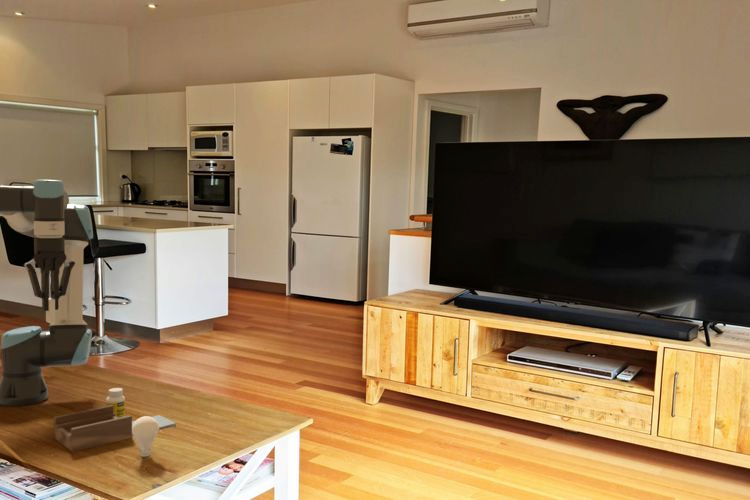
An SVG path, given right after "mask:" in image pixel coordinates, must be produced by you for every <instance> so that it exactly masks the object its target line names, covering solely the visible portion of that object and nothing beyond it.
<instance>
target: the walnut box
mask: <svg viewBox="0 0 750 500" xmlns="http://www.w3.org/2000/svg"><path fill="white" fill-rule="evenodd" d="M132 421H133V416H132V415H131V414H129V415H125V417H120V418H118V417H116V416H115V413H113V406H112V405H109V406H106V405H105V406H101V407H96V408H92V409H91V408H90V409H86V410H80V411H75V412H71V413H67V414H62V415H57V416H54V417H53V423H54V424H53V428H54V429H53V438H54V440H55V441H58V443H60V444H62V446H64V447H65V448H67V449H68V450H69V451H71V452H72V453H75V452H79V451H84V450H87V449H92V448H96V447H100V446H103V445H108V444H112V443H116V442H119V441H124V440H128V439H132V438H133V436H132Z"/></svg>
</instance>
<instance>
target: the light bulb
mask: <svg viewBox="0 0 750 500" xmlns="http://www.w3.org/2000/svg"><path fill="white" fill-rule="evenodd" d="M152 417H153V416H150V415H144V416H141V417H139V418H137V419H136V420H134V421H135V422H134V424H133V427H132V434H133V436H132V437H134V440H135V441H136V443H137V446H138V449H139V457H141V458H143V459H148V458H149V457H151V456H152V448H153V445H154V441H155V439H156V438H157V436H158V434H159V430H160V429H159V425H158V422H157V421H156V420H155V419H154V418H152Z"/></svg>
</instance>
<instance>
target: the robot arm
mask: <svg viewBox="0 0 750 500" xmlns="http://www.w3.org/2000/svg"><path fill="white" fill-rule="evenodd" d="M69 198H70V197H69V195H68V193H67V192H66V191H65V183H64V182H63V180H60V179H58V180H57V179H36V180H34V182H33V186H29V185H27V186H25V185H24V186H18V185H17V186H16V185H0V215H1V216H2V217H3V218H5V220H6V222H7V224H8V226H10V228H12V229H13V230H14V231H15V232H17V233H20V234H22V235H25V236H28V237H32V238H34V239H33V245H34V246H33V247H34V249H33V250H34V252H33V253H34V254H33V256H32V259H31V260H30V261H28V262H25V263H23V267H24V268H25V269H26V271H27V272H28V273H27V274H28V276H29V280H30V283H31V289H32V290H33V294H34V297H37V298H40V299H41V301H42V302H41V303H42V305H41V306H42V307H41V309H42V311H44V312H45V322H46V323H49V325H48V330H43V329H42V327H41V326H39V325H32V326H23V327H17V328H13V329H11V330H8V331H6V332H4V333H3V334H2V336H1V338H0V339H1V341H0V343H1V344H0V354H1V355H0V358H1V379H0V406H3V407H4V406H5V407H20V406H27V405H28V406H29V405H34V404H38V403H40V402H43V401H45V400H47V399H48V398H49V389H48V386H47V383H46V382H45V378H44V376H43V372H42V371H43V368H47V367H49V368H50V367H68V366H69V367H73V366H81V365H85V364H86V363H88V360H89V357H90V351H91V346H92V338H93V337H92V336H93V331H92V329H90V328H88V323H87V322H86V321H85V320H84V319H83V315H84V313H83V310H84V307H83V306H84V305H83V303H84V298H83V297H84V249H85V248H86V247H87V246H89V240H92V239H94V230H93V223H92V216H91V212H90V208H89V207H88V206H87V205H85V204H75V203H70V199H69ZM69 203H70V204H69ZM36 266H37V267H38V268H39V270H40V277H41V278H40V280H41V281H39V278H38V274H37V271H36V269H35V268H36ZM40 283H41V285H40ZM50 289H51V290H50ZM50 295H51V296H50Z"/></svg>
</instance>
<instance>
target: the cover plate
mask: <svg viewBox="0 0 750 500" xmlns="http://www.w3.org/2000/svg"><path fill="white" fill-rule="evenodd" d="M151 417H152V418H154V419H155V420H156V421H157V422H158V425H159V430H161V429H165V428H168V427H169V428H170V427H174V428H177V423H176V422H175V421H172V420H171V419H168V418H166V417H164V416H162V415H160V414H159V415H154V416H151ZM135 421H136V420H132V427H133V424H134V422H135ZM132 437H134V436H133V434H132Z"/></svg>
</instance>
